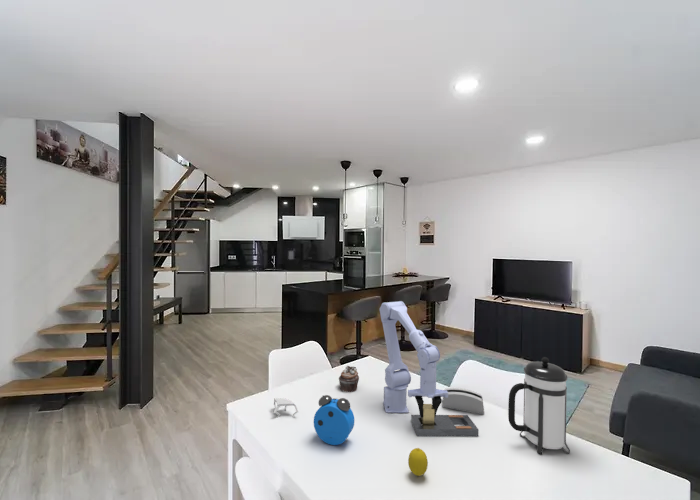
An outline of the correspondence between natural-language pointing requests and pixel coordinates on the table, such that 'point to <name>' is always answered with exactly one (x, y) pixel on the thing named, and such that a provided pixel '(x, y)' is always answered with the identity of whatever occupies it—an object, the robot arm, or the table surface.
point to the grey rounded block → (463, 400)
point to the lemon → (417, 462)
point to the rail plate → (445, 426)
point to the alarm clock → (333, 420)
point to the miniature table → (283, 404)
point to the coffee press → (542, 405)
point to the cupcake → (349, 379)
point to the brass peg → (428, 415)
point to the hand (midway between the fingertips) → (427, 415)
